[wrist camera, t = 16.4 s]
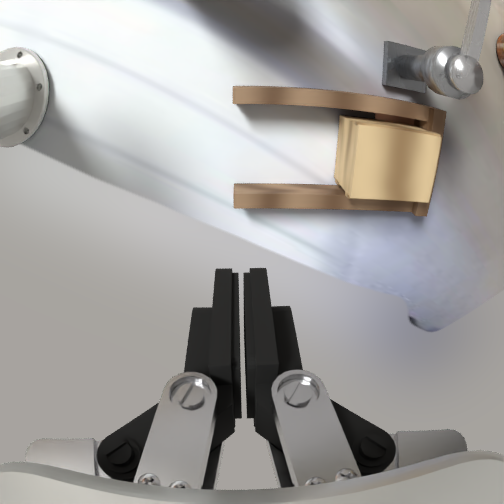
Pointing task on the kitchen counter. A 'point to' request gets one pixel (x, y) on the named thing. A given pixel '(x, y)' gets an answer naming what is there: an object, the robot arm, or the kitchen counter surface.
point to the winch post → (419, 68)
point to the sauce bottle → (500, 49)
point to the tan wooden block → (385, 160)
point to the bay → (332, 194)
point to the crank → (469, 51)
